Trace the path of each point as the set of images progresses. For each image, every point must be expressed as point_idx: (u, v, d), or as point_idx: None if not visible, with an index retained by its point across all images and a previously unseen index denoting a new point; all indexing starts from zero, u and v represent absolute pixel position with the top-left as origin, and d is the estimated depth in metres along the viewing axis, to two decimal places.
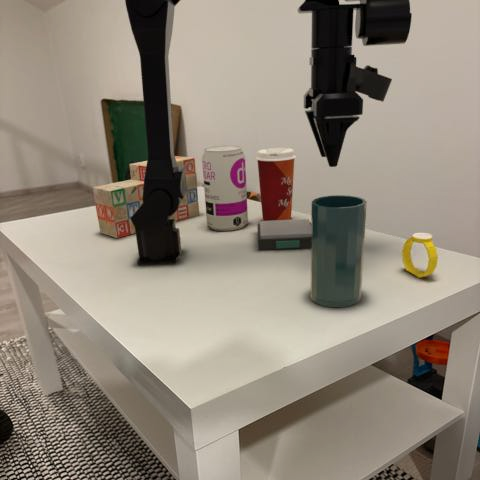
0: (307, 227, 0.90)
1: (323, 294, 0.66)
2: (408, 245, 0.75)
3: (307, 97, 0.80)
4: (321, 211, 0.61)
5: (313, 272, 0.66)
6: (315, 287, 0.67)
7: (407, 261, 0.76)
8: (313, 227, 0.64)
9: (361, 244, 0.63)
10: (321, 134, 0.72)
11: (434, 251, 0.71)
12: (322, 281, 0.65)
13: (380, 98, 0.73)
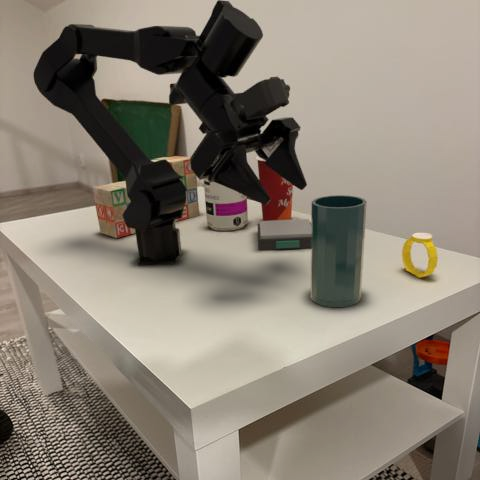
0: (307, 227, 0.90)
1: (323, 294, 0.66)
2: (408, 245, 0.75)
3: (256, 151, 0.74)
4: (321, 211, 0.61)
5: (313, 272, 0.66)
6: (315, 287, 0.67)
7: (407, 261, 0.76)
8: (313, 227, 0.64)
9: (361, 244, 0.63)
10: (228, 186, 0.64)
11: (434, 251, 0.71)
12: (322, 281, 0.65)
13: (266, 105, 0.61)
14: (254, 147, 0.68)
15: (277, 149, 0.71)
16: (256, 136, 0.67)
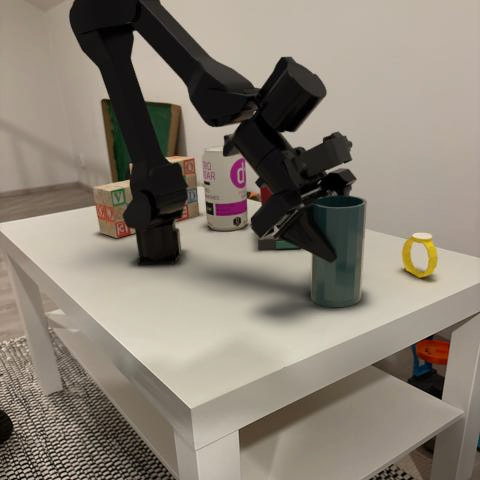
0: None
1: (323, 294, 0.66)
2: (408, 245, 0.75)
3: None
4: (321, 211, 0.61)
5: (313, 272, 0.66)
6: (315, 287, 0.67)
7: (407, 261, 0.76)
8: None
9: (361, 244, 0.63)
10: (293, 243, 0.63)
11: (434, 251, 0.71)
12: (322, 281, 0.65)
13: (331, 165, 0.59)
14: None
15: None
16: (319, 190, 0.66)
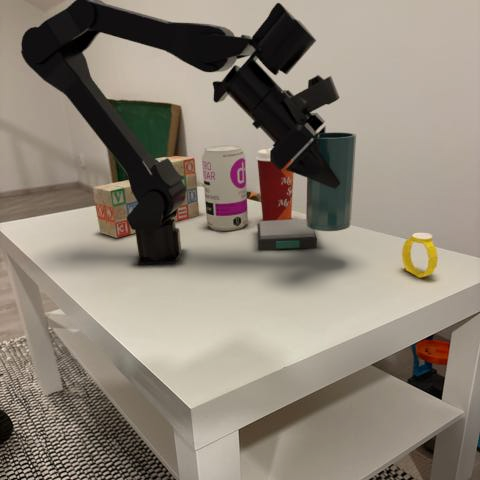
0: (307, 227, 0.90)
1: (326, 220, 0.74)
2: (408, 245, 0.75)
3: None
4: (325, 143, 0.70)
5: (314, 202, 0.74)
6: (317, 215, 0.75)
7: (407, 261, 0.76)
8: None
9: (353, 171, 0.73)
10: (302, 174, 0.70)
11: (434, 251, 0.71)
12: (325, 208, 0.73)
13: (331, 100, 0.68)
14: None
15: None
16: None
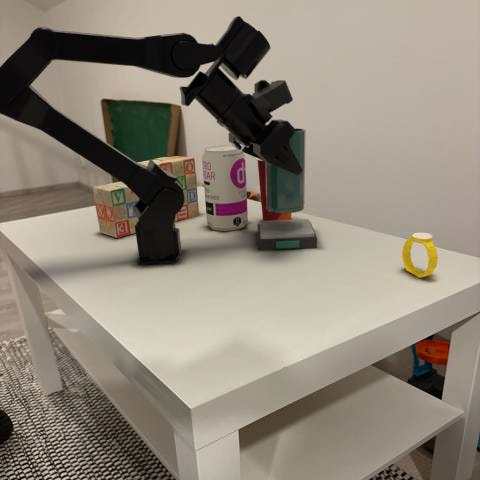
0: (307, 227, 0.90)
1: (292, 203, 0.86)
2: (408, 245, 0.75)
3: (235, 142, 0.88)
4: None
5: (280, 188, 0.85)
6: (283, 200, 0.86)
7: (407, 261, 0.76)
8: None
9: None
10: (276, 164, 0.81)
11: (434, 251, 0.71)
12: (291, 193, 0.85)
13: (290, 100, 0.80)
14: None
15: None
16: None
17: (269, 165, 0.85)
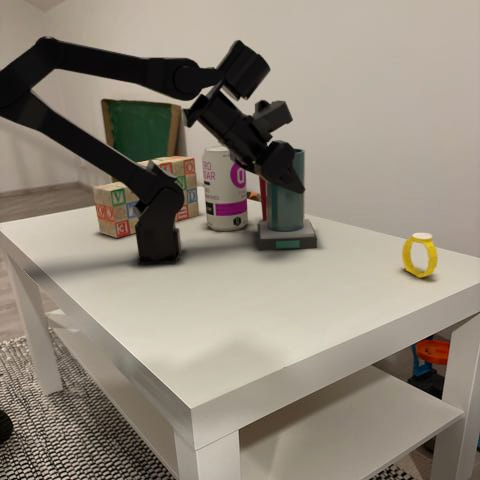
0: (307, 227, 0.90)
1: (292, 222, 0.88)
2: (408, 245, 0.75)
3: (236, 160, 0.89)
4: None
5: (280, 208, 0.87)
6: (283, 219, 0.87)
7: (407, 261, 0.76)
8: None
9: None
10: (279, 185, 0.81)
11: (434, 251, 0.71)
12: (291, 212, 0.87)
13: (290, 120, 0.81)
14: None
15: None
16: None
17: (269, 185, 0.86)
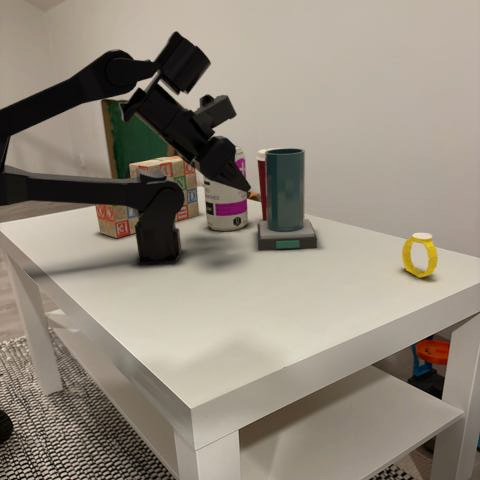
0: (307, 227, 0.90)
1: (292, 222, 0.88)
2: (408, 245, 0.75)
3: (183, 157, 0.86)
4: (288, 158, 0.83)
5: (280, 208, 0.87)
6: (283, 219, 0.87)
7: (407, 261, 0.76)
8: (278, 172, 0.84)
9: None
10: (222, 182, 0.78)
11: (434, 251, 0.71)
12: (291, 212, 0.87)
13: (233, 115, 0.78)
14: None
15: None
16: None
17: (269, 185, 0.86)
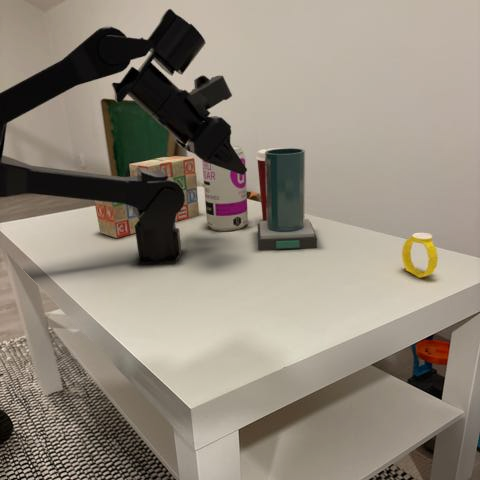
0: (307, 227, 0.90)
1: (292, 222, 0.88)
2: (408, 245, 0.75)
3: (178, 140, 0.85)
4: (288, 158, 0.83)
5: (280, 208, 0.87)
6: (283, 219, 0.87)
7: (407, 261, 0.76)
8: (278, 172, 0.84)
9: None
10: (217, 164, 0.77)
11: (434, 251, 0.71)
12: (291, 212, 0.87)
13: (228, 96, 0.77)
14: None
15: None
16: None
17: (269, 185, 0.86)
